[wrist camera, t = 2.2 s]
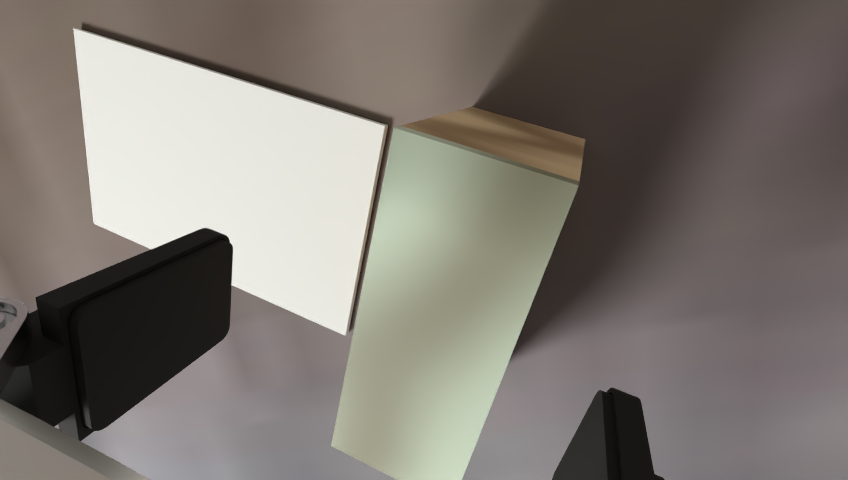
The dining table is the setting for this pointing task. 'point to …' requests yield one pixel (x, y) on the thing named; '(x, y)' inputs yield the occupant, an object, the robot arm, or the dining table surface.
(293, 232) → the white rectangular board
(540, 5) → the dining table surface
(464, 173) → the oak slab
